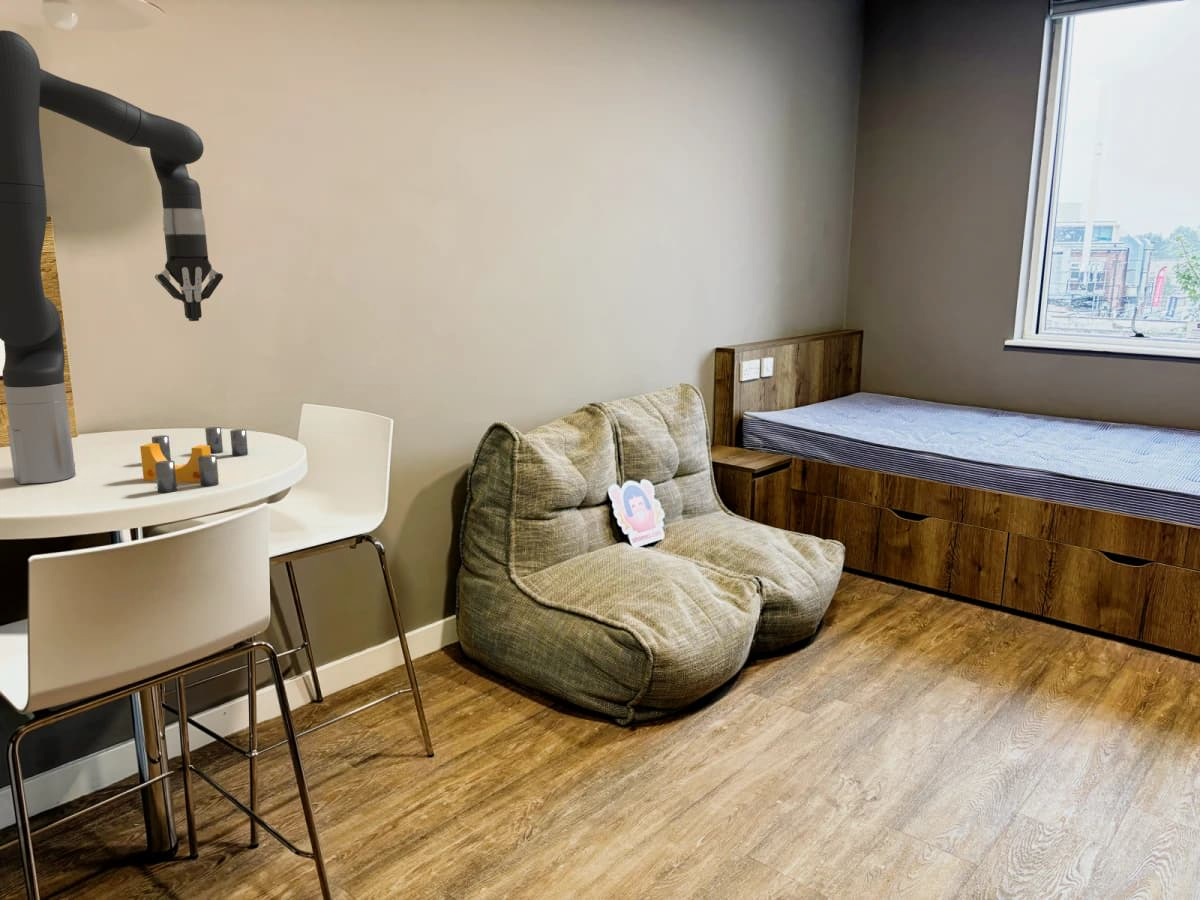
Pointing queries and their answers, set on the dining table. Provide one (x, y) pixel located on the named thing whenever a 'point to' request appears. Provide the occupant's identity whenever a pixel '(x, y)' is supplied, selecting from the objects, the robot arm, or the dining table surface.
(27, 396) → the robot arm
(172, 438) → the dining table surface
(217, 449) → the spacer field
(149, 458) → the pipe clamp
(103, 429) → the dining table surface
